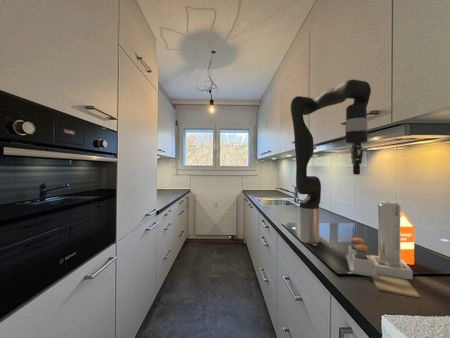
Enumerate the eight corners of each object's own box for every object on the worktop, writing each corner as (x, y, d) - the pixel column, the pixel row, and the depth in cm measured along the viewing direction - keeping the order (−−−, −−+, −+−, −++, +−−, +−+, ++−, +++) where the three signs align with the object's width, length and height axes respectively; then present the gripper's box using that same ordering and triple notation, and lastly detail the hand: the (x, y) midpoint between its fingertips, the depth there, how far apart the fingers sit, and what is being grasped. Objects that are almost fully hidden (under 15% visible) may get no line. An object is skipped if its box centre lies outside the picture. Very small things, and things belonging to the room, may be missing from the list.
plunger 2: (353, 257, 83) (353, 243, 83) (366, 258, 81) (366, 245, 81) (355, 261, 79) (355, 247, 79) (369, 263, 77) (369, 249, 77)
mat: (370, 275, 77) (370, 273, 77) (406, 281, 73) (406, 279, 73) (378, 290, 67) (378, 288, 67) (419, 297, 64) (419, 295, 64)
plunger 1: (350, 249, 91) (350, 236, 91) (362, 250, 89) (362, 238, 89) (351, 252, 87) (351, 240, 87) (364, 254, 85) (364, 241, 85)
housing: (345, 257, 92) (345, 244, 92) (399, 264, 85) (399, 250, 85) (350, 273, 79) (350, 258, 79) (415, 283, 71) (415, 267, 71)
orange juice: (396, 255, 94) (395, 208, 94) (414, 264, 85) (414, 212, 85) (378, 255, 94) (377, 208, 94) (394, 264, 85) (394, 213, 85)
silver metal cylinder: (379, 272, 79) (379, 202, 79) (377, 265, 85) (376, 200, 85) (402, 276, 76) (402, 203, 76) (398, 268, 82) (398, 201, 82)
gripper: (343, 134, 96) (344, 174, 96) (347, 129, 83) (347, 175, 83) (364, 132, 93) (364, 174, 93) (370, 127, 80) (371, 175, 81)
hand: (356, 174), depth 88 cm, fingers closed
